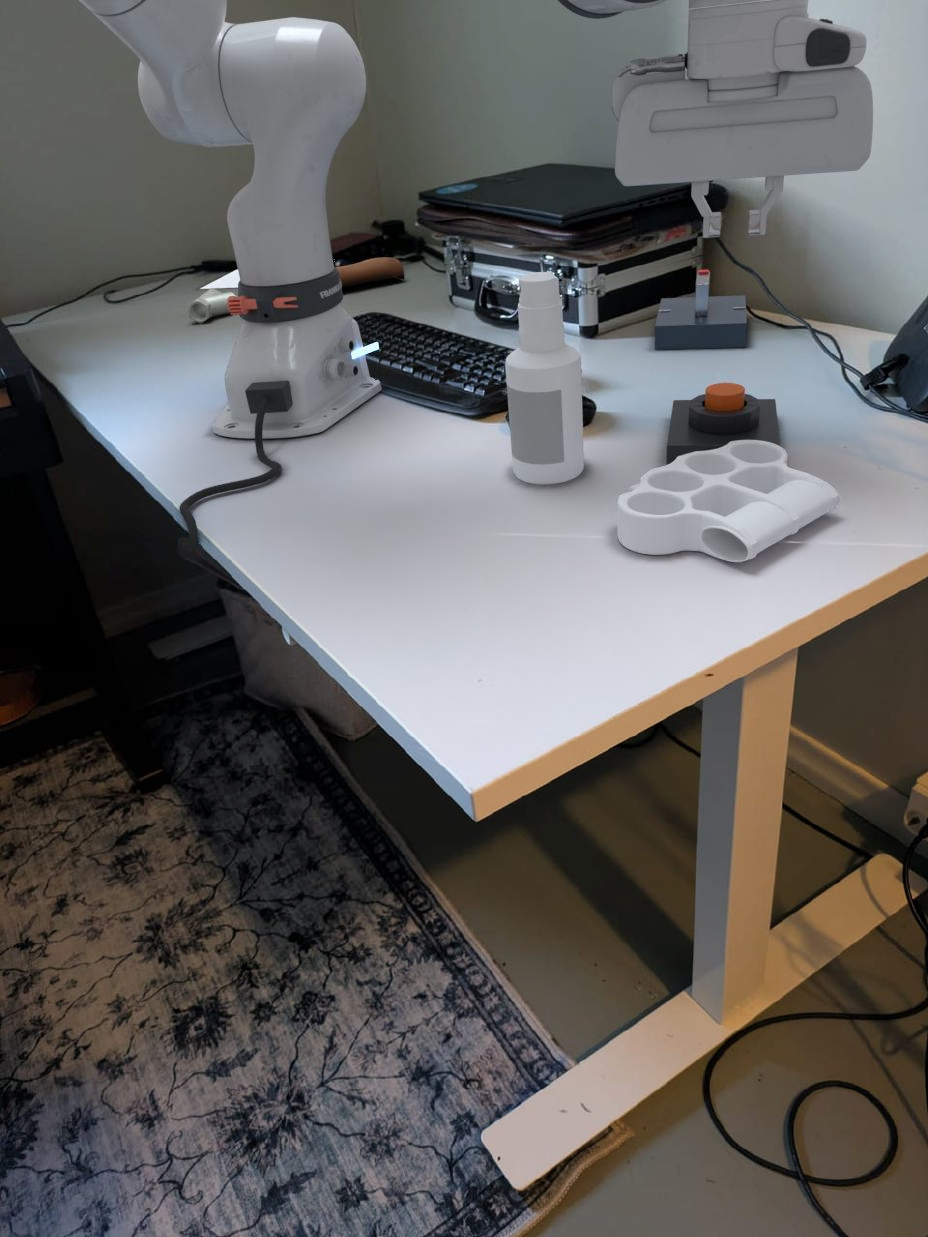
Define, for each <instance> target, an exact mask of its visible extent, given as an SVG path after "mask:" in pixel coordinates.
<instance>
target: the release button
mask: <svg viewBox="0 0 928 1237" xmlns="http://www.w3.org/2000/svg"><path fill="white" fill-rule="evenodd" d="M704 394H705V408H706V409H708V410H713V411H734V410H739V409H742V408H743V407H744V396H745V394H746V388H745V386H743V385H741V384H739V383H734V382H718V383H713V384H710V385H708V386H707V387H706V388H705V391H704Z"/></svg>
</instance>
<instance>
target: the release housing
mask: <svg viewBox="0 0 928 1237" xmlns="http://www.w3.org/2000/svg"><path fill="white" fill-rule="evenodd" d="M777 410H778V409H777V402H776V399H775V398H757V397H755V396H754V395H751V394H749V393H745V396H744V407H743V408H742V409H739V410H734V411H713V410H708V409H706V408H705V393H704V394H699V395H697V396H695V397H694V398H692V399H673V402H672V408H671V415H670V422H669V429H668V436H667V443H666V462H665V465H668V464H670V463H672V462H673V461H674V460H675V459H676V458H677V457H678V456H681V455H685V454H688V453H692V452H695V451H707V450H713V449H717V448H720V447H723V446H725V445H727V444H728V443H729V442H731V441H737V440H760V441H766V442H770V443H774V444H776V445H779V446H780V447H781V441H780V440H781V438H780V430H779V421H778V413H777V412H778V411H777Z"/></svg>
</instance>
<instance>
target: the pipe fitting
mask: <svg viewBox="0 0 928 1237" xmlns="http://www.w3.org/2000/svg"><path fill="white" fill-rule="evenodd" d="M229 296H236V297H237V295H235V293H234V292H232V291H228V292H221V291H219V290H218V289H217V288H211V289H207V290H206V291H205V292H203V293H202V294H200V296H199V297H197V298H195V299H194V300H193V301H192V302H190V303H189V304H187V306H186V307H187V312H188V317H189V319H191V320H193V321H194V322H196V323H198V324H201V325H202V324H203V323H204V322H206V321H207V320H209V319H210V318H215V317H219V316H224V315H229V314H230V313H231V312H229V311H228V310H229V309H227V306H229V305H227V302H228V301H227V299H228V297H229Z"/></svg>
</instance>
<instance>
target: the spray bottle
mask: <svg viewBox="0 0 928 1237" xmlns="http://www.w3.org/2000/svg"><path fill="white" fill-rule="evenodd" d="M559 284H560V281H559V278H558V277H557V275H555V274H554V273H553V272H552V271H537V272H530V273H526V274H523V275H521V276H519V277H518V286H519V298H518V303H517V313H518V314H517V316H518V331H517V332H518V343H519V344H518V345H519V346H518V347H517V348H515V349H514V350H513V351H511V352H510V353H509V354H508V355H507V356H506V358H505V363H504V367H505V382H506V392H507V393H506V394H507V406H508V408H507V409H508V419H509V422H508V423H509V433H510V434H509V436H510V445H511V446H510V447H511V459H512V461H511V462H512V472H513V473H514V475H515V476H516V478H517V479H518V480H520V481H522V482H524V483H529V484H532V485H557V484H560V483H566V482H569V481H571V480H574V479H575V478H577V477H579V476H580V475H581V474H582V472H583V471H584V469H585V454H584V452H585V451H584V420H583V419H584V418H583V417H584V414H583V384H582V383H583V382H582V356H581V353H580V351H579V350H577V348H575V347H574V346H572V345H570V344H568V343H566V340H565V325H564V317H563V316H564V315H563V314H564V312H563V300H562V299H561V293H560V285H559Z"/></svg>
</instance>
